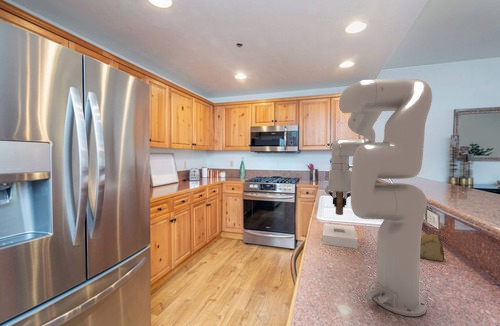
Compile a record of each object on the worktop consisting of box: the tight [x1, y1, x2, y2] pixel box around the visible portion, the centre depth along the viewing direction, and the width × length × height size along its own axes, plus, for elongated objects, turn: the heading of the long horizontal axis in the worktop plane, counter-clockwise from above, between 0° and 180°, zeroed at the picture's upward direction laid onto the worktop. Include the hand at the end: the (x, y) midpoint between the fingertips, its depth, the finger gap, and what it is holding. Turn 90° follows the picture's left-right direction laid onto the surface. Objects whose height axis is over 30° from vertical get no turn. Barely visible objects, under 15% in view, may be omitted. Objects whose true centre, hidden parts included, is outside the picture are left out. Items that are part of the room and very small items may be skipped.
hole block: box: [321, 222, 359, 250], centre depth 102 cm, size 18×14×4 cm
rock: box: [420, 233, 445, 262], centre depth 84 cm, size 11×9×10 cm
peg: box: [335, 192, 344, 216], centre depth 102 cm, size 3×3×11 cm
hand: (339, 206), depth 102 cm, fingers closed on peg, 3 cm apart
